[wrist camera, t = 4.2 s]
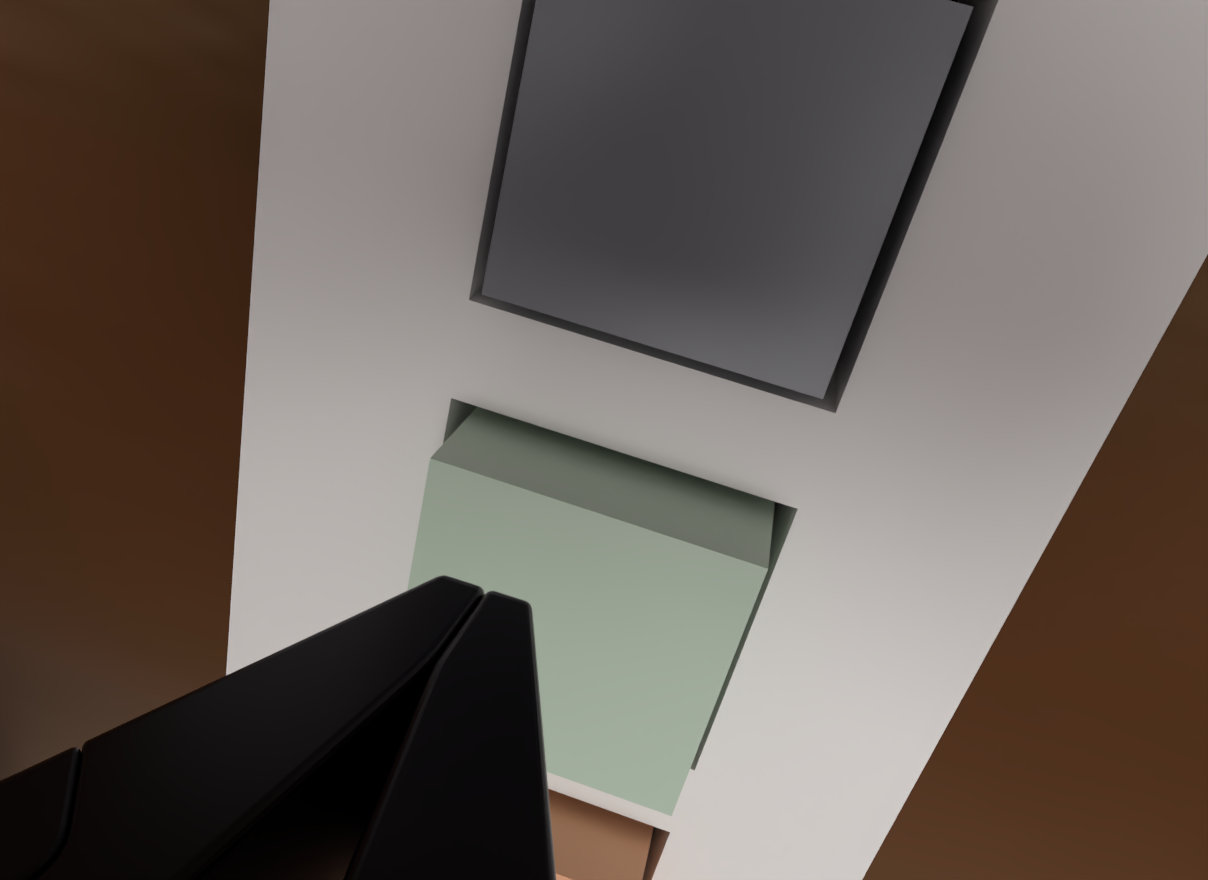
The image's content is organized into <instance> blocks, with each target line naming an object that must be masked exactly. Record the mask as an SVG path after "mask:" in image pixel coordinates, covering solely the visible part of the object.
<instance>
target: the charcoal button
mask: <svg viewBox="0 0 1208 880" xmlns="http://www.w3.org/2000/svg"><path fill="white" fill-rule="evenodd" d="M972 10H973V6H969V5H965V4H961V3H957V2H954V1H950V0H536V2H535V7H534V13H533V18H532V24H531V29H530V34H529V40H528V45H527V51H526V56H525V61H524V67H523V72H522V78H521V83H520V88H519V94H518V99H517V105H516V110H515V115H514V121H513V126H512V132H511V137H510V142H509V148H508V153H507V159H506V164H505V169H504V175H503V180H502V186H501V191H500V196H499V202H498V207H497V213H496V218H495V223H494V229H493V234H492V240H491V245H490V250H489V256H488V261H487V267H486V272H485V277H484V283H483V288H482V295H485V296H489V297H492V298H495V299H498V300H501V301H505V302H508V303H511V304H514V305H518V306H521V307H524V308H527V309H531V310H534V311H537V312H540V313H544V314H547V315H550V316H553V317H557V318H560V319H563V320H566V321H570V322H573V323H576V324H579V325H583V326H586V327H589V328H592V329H596V330H599V331H602V332H605V333H609V334H612V335H615V336H618V337H622V338H625V339H628V340H631V341H635V342H638V343H641V344H644V345H648V346H651V347H654V348H657V349H661V350H664V351H667V352H670V353H674V354H677V355H680V356H683V357H687V358H690V359H693V360H696V361H700V362H703V363H706V364H709V365H713V366H716V367H719V368H722V369H726V370H729V371H732V372H735V373H739V374H742V375H745V376H748V377H752V378H755V379H758V380H761V381H765V382H768V383H771V384H774V385H778V386H781V387H784V388H787V389H791V390H794V391H797V392H800V393H804V394H807V395H810V396H813V397H817V398H820V399H823V398H824V395H825V392H826V390H827V387H828V385H829V382H830V379H831V377H832V374H833V372H834V369H835V366H836V364H837V361H838V359H839V356H840V353H841V351H842V348H843V346H844V343H845V340H846V338H847V335H848V333H849V330H850V327H851V325H852V322H853V320H854V317H855V314H856V312H857V309H858V307H859V304H860V301H861V299H862V296H863V294H864V291H865V288H866V286H867V283H868V281H869V278H870V275H871V273H872V270H873V268H874V265H875V262H876V260H877V257H878V255H879V252H880V249H881V247H882V244H883V242H884V239H885V236H886V234H887V231H888V228H889V226H890V223H891V221H892V218H893V215H894V213H895V210H896V208H897V205H898V202H899V200H900V197H901V195H902V192H903V189H904V187H905V184H906V182H907V179H908V176H909V174H910V171H911V169H912V166H913V163H914V161H915V158H916V156H917V153H918V150H919V148H920V145H921V143H922V140H923V137H924V135H925V132H926V130H927V127H928V124H929V122H930V119H931V117H932V114H933V111H934V109H935V106H936V104H937V101H938V98H939V96H940V93H941V91H942V88H943V85H944V83H945V80H946V78H947V75H948V72H949V70H950V67H951V65H952V62H953V59H954V57H955V54H956V52H957V49H958V46H959V44H960V41H961V39H962V36H963V33H964V31H965V28H966V26H967V23H968V20H969V18H970V15H971V13H972Z"/></svg>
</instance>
